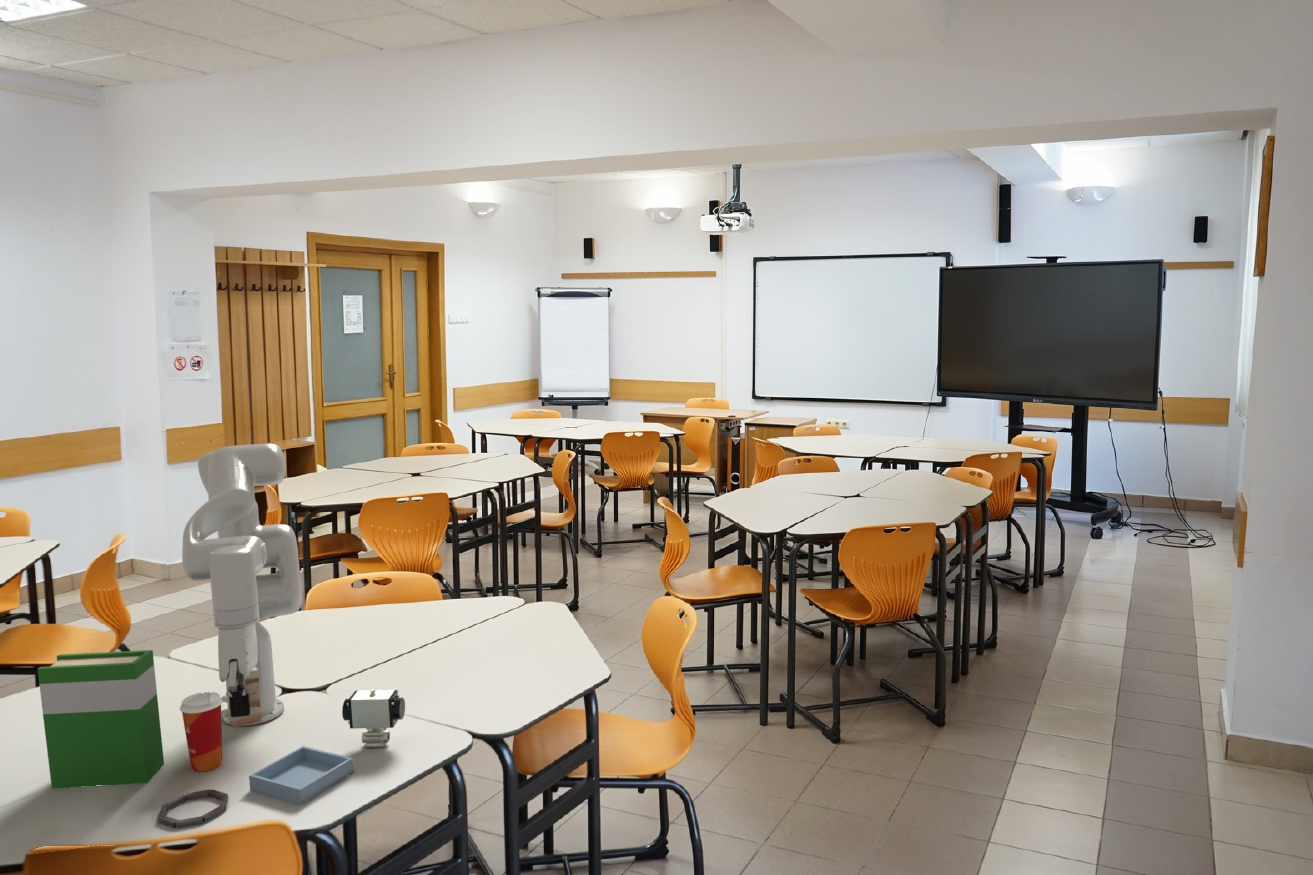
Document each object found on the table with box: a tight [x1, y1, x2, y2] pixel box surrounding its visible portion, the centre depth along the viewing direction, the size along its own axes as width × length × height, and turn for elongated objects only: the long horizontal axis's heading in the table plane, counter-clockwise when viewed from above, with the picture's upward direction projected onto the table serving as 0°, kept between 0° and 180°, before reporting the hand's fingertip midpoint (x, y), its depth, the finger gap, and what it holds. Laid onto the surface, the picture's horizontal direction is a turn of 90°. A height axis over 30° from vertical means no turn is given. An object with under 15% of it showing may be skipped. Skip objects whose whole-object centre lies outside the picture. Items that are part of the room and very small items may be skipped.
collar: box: [157, 788, 229, 829], centre depth 171 cm, size 11×11×1 cm
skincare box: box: [225, 665, 261, 728], centre depth 174 cm, size 5×4×10 cm
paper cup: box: [179, 691, 224, 773], centre depth 187 cm, size 8×8×14 cm
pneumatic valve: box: [341, 688, 406, 749], centre depth 195 cm, size 6×12×12 cm, turn 90°
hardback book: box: [37, 649, 165, 790], centre depth 183 cm, size 18×7×24 cm, turn 94°
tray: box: [248, 745, 355, 806], centre depth 181 cm, size 13×13×3 cm
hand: (244, 707), depth 174 cm, fingers closed on skincare box, 5 cm apart
